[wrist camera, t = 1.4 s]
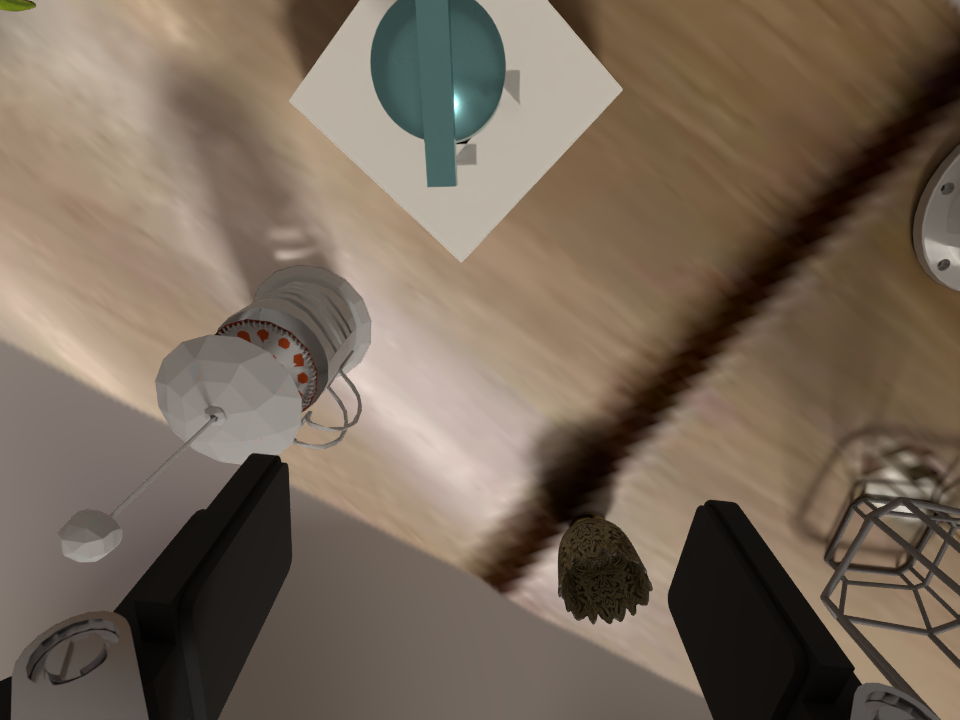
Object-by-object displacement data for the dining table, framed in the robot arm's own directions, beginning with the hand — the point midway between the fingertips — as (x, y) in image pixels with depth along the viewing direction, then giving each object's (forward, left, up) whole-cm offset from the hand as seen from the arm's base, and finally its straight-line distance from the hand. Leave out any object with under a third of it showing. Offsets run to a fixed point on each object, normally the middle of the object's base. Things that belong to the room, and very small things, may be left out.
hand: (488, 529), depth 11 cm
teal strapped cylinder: (-7, -9, -29) cm, 31 cm away
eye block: (-7, -9, -29) cm, 31 cm away
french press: (+13, -6, -29) cm, 33 cm away
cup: (+11, +24, -29) cm, 39 cm away
